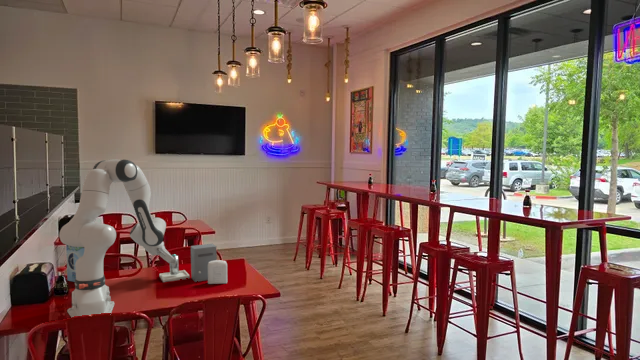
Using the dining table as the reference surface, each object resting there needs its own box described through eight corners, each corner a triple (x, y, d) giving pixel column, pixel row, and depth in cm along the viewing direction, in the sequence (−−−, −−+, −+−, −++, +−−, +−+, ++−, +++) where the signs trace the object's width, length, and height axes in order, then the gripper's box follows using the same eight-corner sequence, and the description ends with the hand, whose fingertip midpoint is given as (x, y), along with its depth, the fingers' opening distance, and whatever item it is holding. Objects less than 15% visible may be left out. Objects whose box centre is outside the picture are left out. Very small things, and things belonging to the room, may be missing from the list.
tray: (189, 278, 239) (189, 275, 239) (163, 282, 232) (163, 279, 232) (184, 272, 250) (184, 270, 250) (159, 276, 243) (159, 273, 243)
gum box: (67, 281, 236) (65, 239, 234) (75, 278, 240) (73, 237, 238) (92, 285, 228) (90, 242, 226) (100, 282, 232) (98, 240, 230)
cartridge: (179, 274, 240) (178, 255, 239) (170, 275, 238) (170, 256, 237) (177, 271, 244) (177, 253, 243) (169, 273, 242) (168, 254, 241)
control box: (217, 278, 239) (216, 246, 237) (195, 282, 233) (194, 249, 231) (212, 274, 246) (212, 243, 245) (191, 277, 240) (190, 245, 239)
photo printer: (227, 281, 234) (227, 258, 233) (227, 283, 230) (226, 261, 229) (208, 282, 232) (207, 259, 231) (207, 284, 228) (206, 261, 227)
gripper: (163, 246, 227) (183, 262, 233) (156, 239, 245) (175, 253, 250) (154, 255, 225) (174, 271, 231) (148, 247, 243) (167, 262, 248)
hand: (175, 262), depth 241 cm, fingers closed on cartridge, 5 cm apart
